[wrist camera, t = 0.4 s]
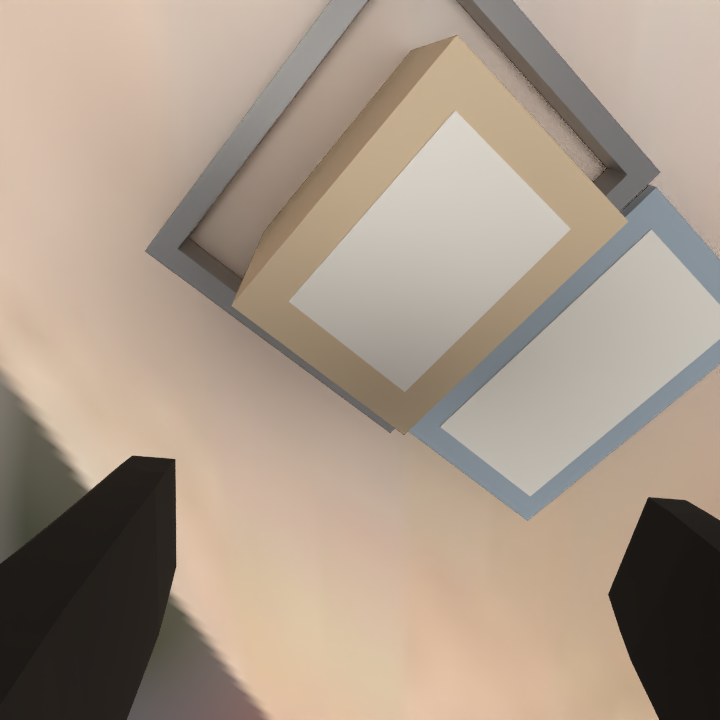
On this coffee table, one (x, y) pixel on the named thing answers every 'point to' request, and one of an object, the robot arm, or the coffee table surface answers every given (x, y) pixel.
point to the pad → (587, 363)
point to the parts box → (424, 236)
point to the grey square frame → (483, 3)
